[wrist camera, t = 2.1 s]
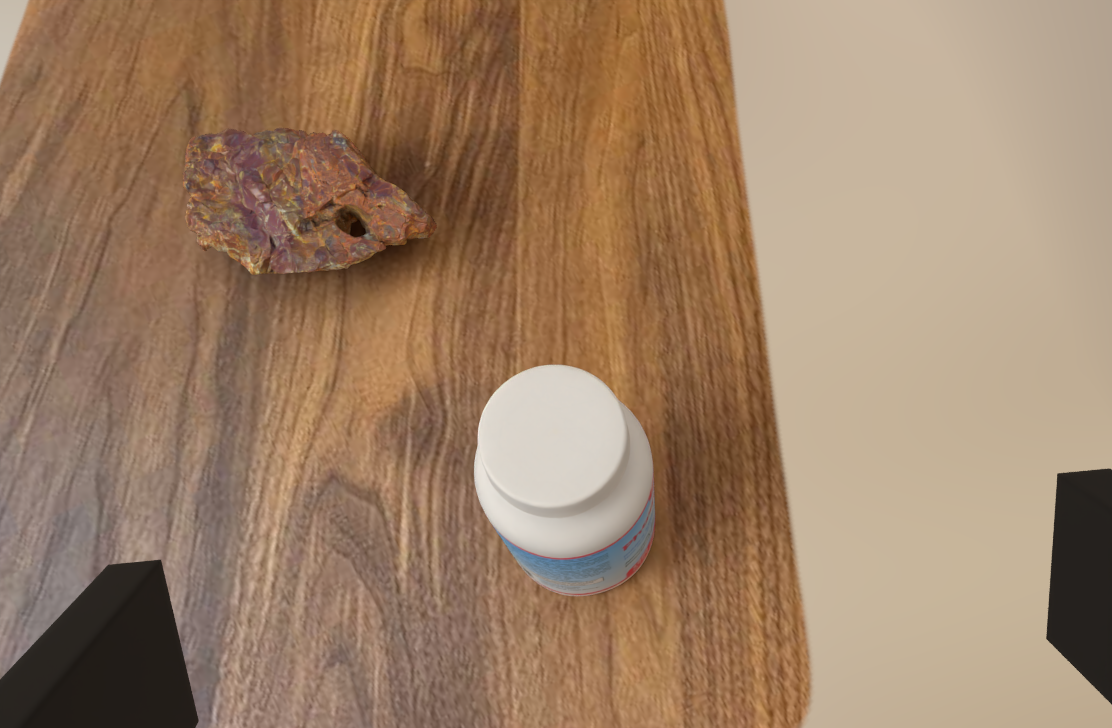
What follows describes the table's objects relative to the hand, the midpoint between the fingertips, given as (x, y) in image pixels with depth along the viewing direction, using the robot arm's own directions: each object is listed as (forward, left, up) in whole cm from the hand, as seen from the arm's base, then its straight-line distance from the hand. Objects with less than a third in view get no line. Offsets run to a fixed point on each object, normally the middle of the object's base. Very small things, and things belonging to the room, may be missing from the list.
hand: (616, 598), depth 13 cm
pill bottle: (+6, -3, -23) cm, 24 cm away
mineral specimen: (+26, -5, -23) cm, 36 cm away
